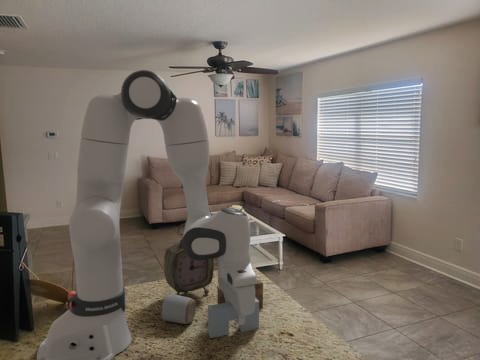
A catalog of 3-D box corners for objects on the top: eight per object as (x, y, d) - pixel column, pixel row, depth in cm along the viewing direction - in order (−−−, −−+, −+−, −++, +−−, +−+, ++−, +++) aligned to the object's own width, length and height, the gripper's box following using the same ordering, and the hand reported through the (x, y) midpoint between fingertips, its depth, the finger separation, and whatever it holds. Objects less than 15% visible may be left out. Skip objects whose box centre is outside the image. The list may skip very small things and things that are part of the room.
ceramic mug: (187, 329, 106) (187, 303, 105) (161, 325, 108) (160, 299, 107) (201, 312, 116) (201, 288, 115) (176, 308, 118) (176, 285, 117)
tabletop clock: (173, 306, 120) (171, 229, 116) (162, 295, 127) (160, 222, 124) (214, 295, 128) (213, 222, 124) (201, 285, 135) (200, 216, 131)
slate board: (210, 337, 102) (210, 309, 101) (208, 333, 104) (207, 305, 103) (258, 328, 107) (259, 301, 106) (255, 324, 109) (255, 297, 108)
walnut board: (220, 314, 114) (219, 289, 113) (217, 311, 117) (217, 286, 116) (262, 307, 119) (263, 282, 118) (259, 303, 121) (259, 279, 120)
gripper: (212, 256, 112) (213, 300, 114) (235, 283, 93) (236, 336, 95) (232, 253, 114) (233, 297, 116) (259, 280, 95) (259, 331, 97)
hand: (234, 315), depth 105 cm, fingers open, 8 cm apart
